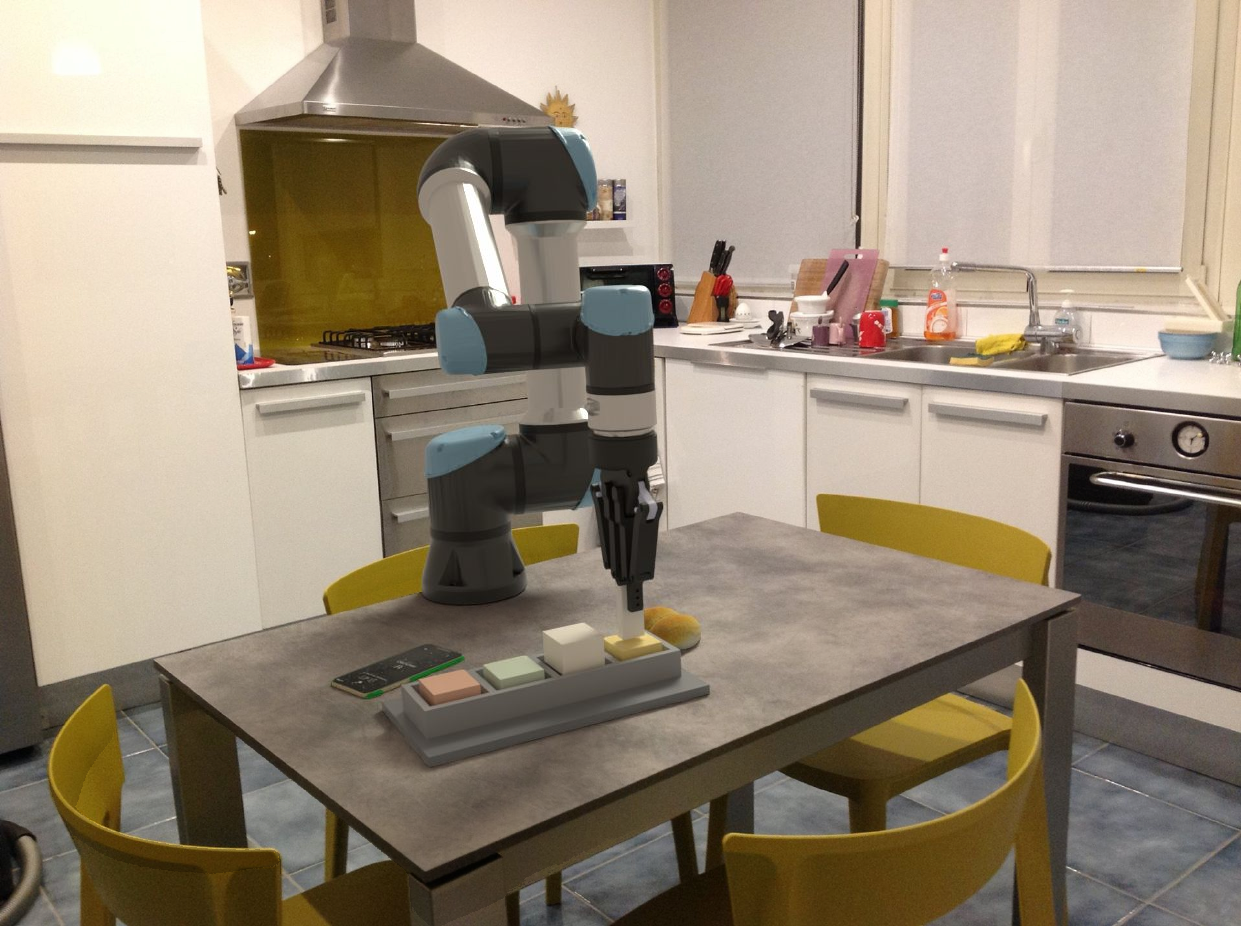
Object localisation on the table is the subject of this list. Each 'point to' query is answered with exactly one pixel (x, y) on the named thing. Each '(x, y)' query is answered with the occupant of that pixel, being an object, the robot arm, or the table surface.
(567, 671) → the key ivory
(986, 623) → the table surface
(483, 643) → the table surface
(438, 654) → the smartphone
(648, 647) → the key mustard
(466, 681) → the key terracotta
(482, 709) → the grey compartment tray
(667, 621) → the bread roll
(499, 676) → the key sage
